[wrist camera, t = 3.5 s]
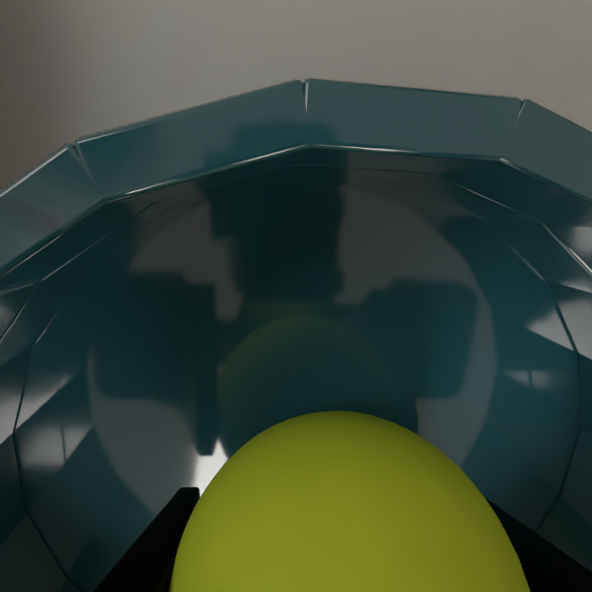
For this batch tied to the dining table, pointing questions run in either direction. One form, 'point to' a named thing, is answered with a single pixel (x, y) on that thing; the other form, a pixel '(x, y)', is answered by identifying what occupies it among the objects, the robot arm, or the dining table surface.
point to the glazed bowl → (292, 306)
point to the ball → (343, 516)
